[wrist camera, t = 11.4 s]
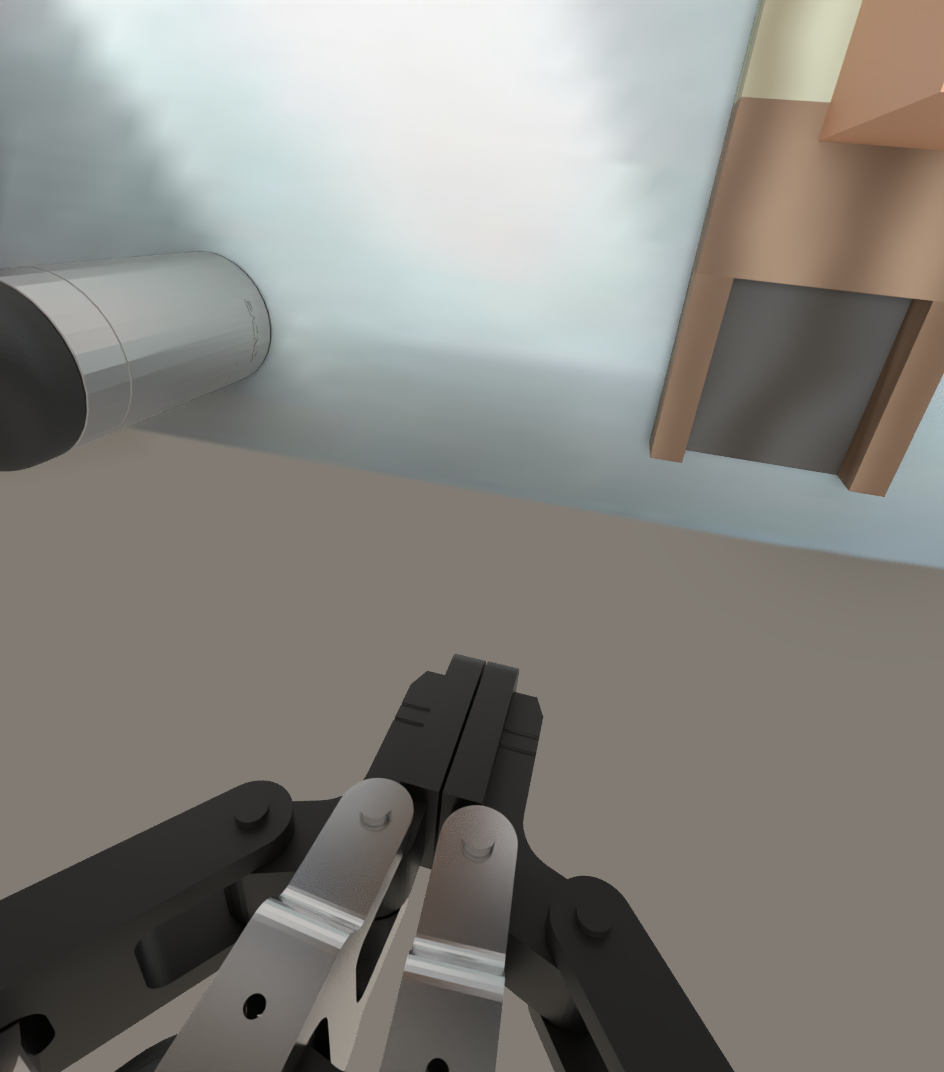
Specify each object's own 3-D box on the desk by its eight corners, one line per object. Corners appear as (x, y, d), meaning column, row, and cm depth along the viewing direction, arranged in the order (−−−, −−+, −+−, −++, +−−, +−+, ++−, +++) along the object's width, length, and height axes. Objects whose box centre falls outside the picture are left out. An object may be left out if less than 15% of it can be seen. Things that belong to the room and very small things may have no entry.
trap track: (649, 442, 41) (650, 457, 39) (887, -515, 22) (919, -610, 20) (868, 477, 39) (884, 496, 36) (1342, -561, 20) (1445, -674, 17)
